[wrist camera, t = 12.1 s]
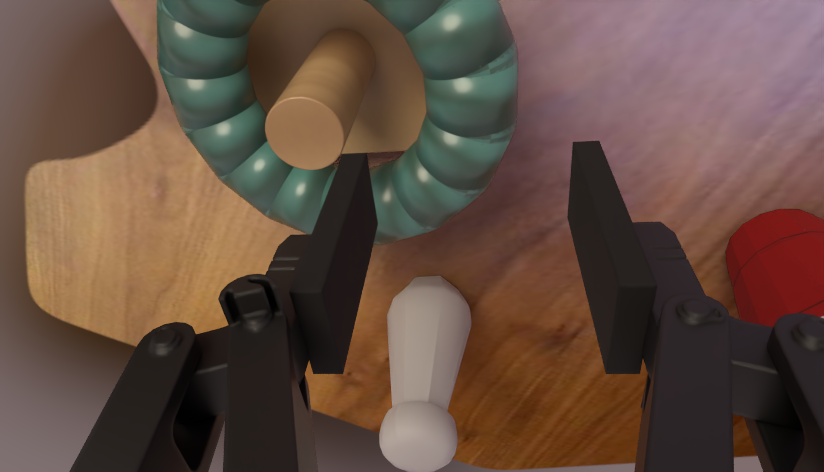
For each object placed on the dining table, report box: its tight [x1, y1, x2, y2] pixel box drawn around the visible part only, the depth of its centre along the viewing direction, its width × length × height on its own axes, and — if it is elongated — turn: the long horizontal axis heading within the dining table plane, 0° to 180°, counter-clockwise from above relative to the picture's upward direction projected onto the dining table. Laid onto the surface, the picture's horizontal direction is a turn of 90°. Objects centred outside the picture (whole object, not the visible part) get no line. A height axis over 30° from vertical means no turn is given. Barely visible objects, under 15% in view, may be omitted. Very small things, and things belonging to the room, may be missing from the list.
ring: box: [157, 0, 518, 245], centre depth 26 cm, size 17×17×4 cm
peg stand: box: [247, 0, 426, 170], centre depth 27 cm, size 11×11×10 cm
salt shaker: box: [379, 275, 472, 472], centre depth 36 cm, size 6×6×13 cm
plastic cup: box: [726, 209, 824, 327], centre depth 31 cm, size 11×11×12 cm
